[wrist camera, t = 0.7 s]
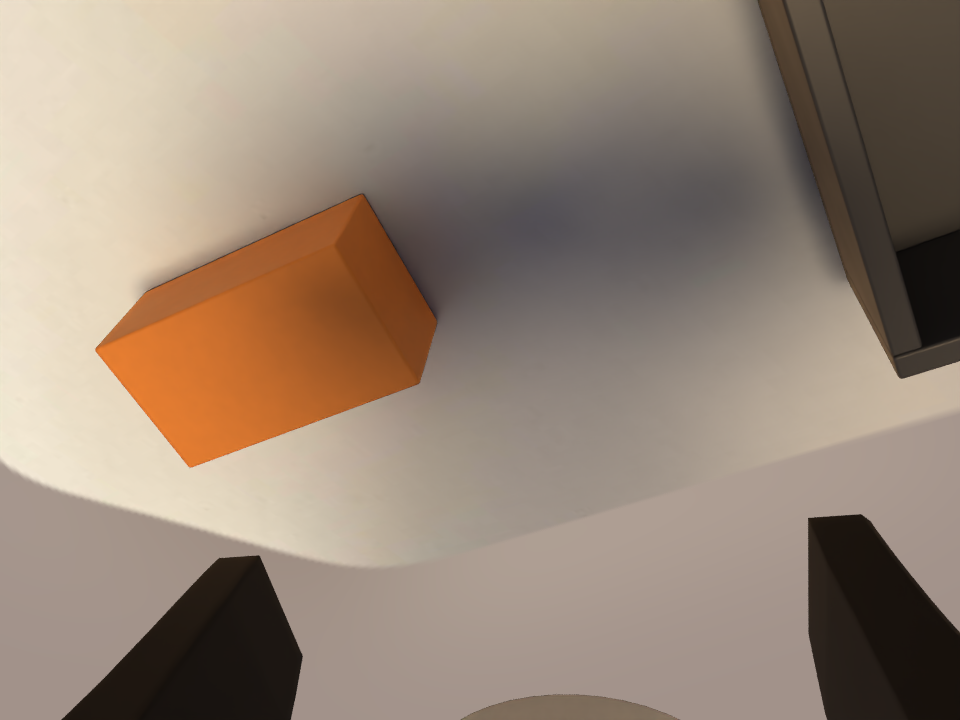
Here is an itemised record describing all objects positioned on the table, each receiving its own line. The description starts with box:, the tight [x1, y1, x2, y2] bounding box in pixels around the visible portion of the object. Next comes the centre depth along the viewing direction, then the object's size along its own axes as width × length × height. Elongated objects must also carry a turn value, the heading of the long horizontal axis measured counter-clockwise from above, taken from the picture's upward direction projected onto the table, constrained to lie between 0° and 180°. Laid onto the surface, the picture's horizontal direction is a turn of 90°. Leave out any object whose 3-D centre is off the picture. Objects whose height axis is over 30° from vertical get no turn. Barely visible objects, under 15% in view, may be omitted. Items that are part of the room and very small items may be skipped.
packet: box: [95, 194, 437, 467], centre depth 23 cm, size 4×7×3 cm, turn 117°
